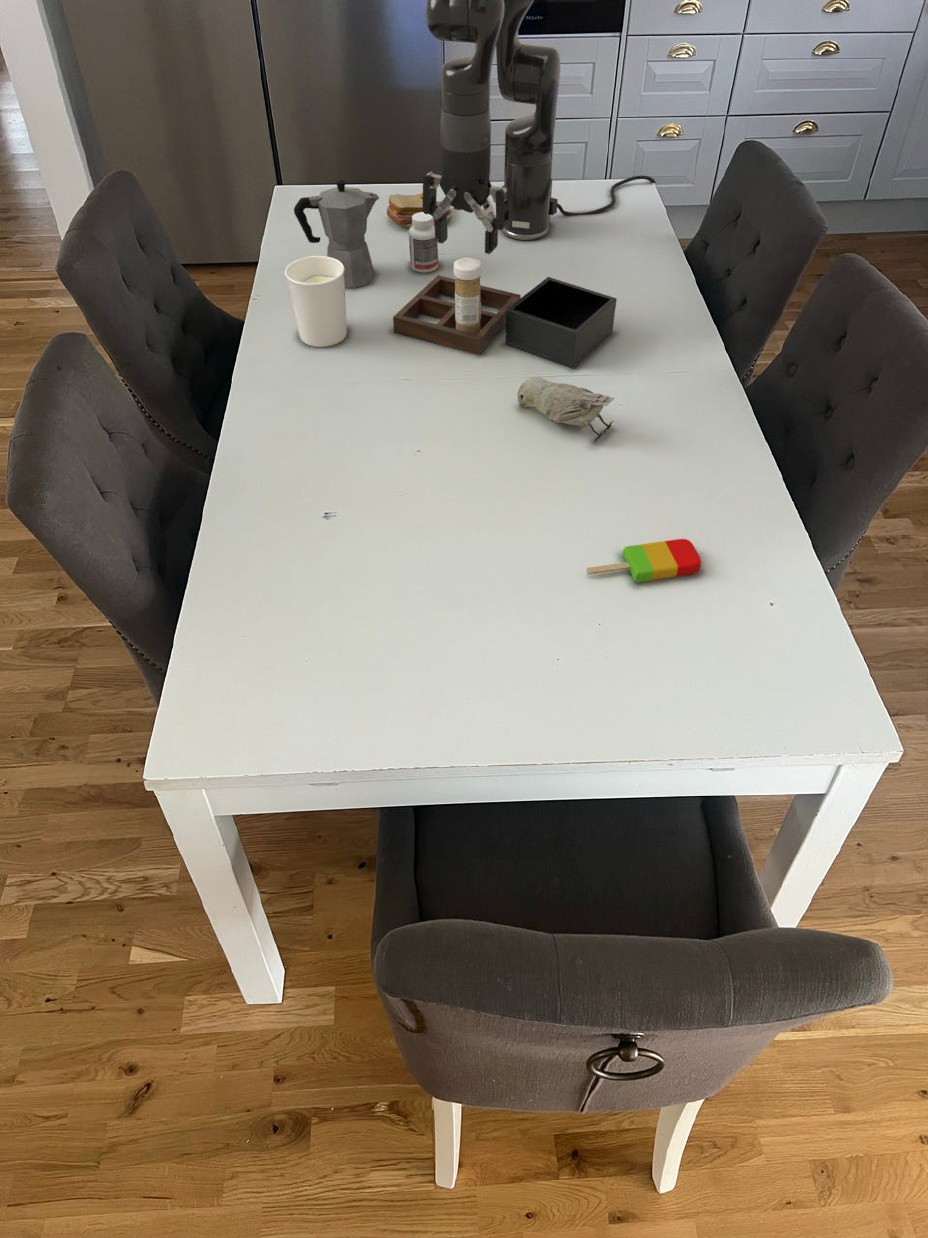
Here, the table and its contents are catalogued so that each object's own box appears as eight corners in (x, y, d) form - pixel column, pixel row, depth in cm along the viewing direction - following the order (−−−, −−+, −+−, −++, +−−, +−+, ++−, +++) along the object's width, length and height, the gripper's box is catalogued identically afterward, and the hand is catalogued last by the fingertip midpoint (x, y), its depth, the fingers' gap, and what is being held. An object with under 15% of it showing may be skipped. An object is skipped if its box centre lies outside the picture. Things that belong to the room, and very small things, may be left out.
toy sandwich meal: (456, 228, 189) (456, 205, 185) (391, 235, 187) (390, 211, 184) (445, 202, 197) (444, 180, 194) (382, 208, 195) (381, 186, 192)
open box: (546, 311, 166) (548, 276, 162) (612, 333, 161) (616, 298, 156) (505, 344, 159) (506, 309, 154) (573, 368, 154) (576, 333, 149)
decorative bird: (528, 397, 148) (530, 356, 143) (616, 432, 142) (622, 391, 136) (509, 414, 145) (511, 372, 140) (598, 450, 139) (604, 408, 133)
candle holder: (284, 343, 160) (273, 277, 151) (311, 315, 166) (302, 251, 157) (335, 354, 157) (327, 288, 148) (360, 326, 163) (354, 261, 154)
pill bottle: (444, 266, 178) (442, 216, 171) (423, 276, 175) (421, 225, 168) (425, 257, 181) (423, 207, 173) (404, 266, 178) (401, 216, 171)
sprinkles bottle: (482, 330, 162) (483, 257, 152) (478, 344, 159) (478, 270, 149) (457, 328, 163) (456, 255, 153) (452, 342, 160) (451, 268, 150)
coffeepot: (380, 261, 179) (373, 165, 166) (388, 284, 173) (381, 187, 160) (301, 270, 177) (287, 174, 164) (306, 294, 171) (292, 196, 158)
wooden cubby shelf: (438, 289, 172) (437, 274, 170) (520, 310, 167) (520, 294, 164) (393, 332, 162) (392, 316, 160) (479, 355, 157) (479, 339, 154)
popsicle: (702, 574, 121) (705, 563, 119) (592, 591, 119) (593, 580, 117) (687, 546, 124) (689, 535, 123) (580, 562, 122) (581, 551, 121)
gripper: (519, 139, 137) (515, 245, 149) (435, 124, 141) (437, 228, 153) (497, 157, 132) (495, 265, 144) (411, 140, 137) (416, 247, 149)
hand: (465, 246), depth 149 cm, fingers open, 8 cm apart
